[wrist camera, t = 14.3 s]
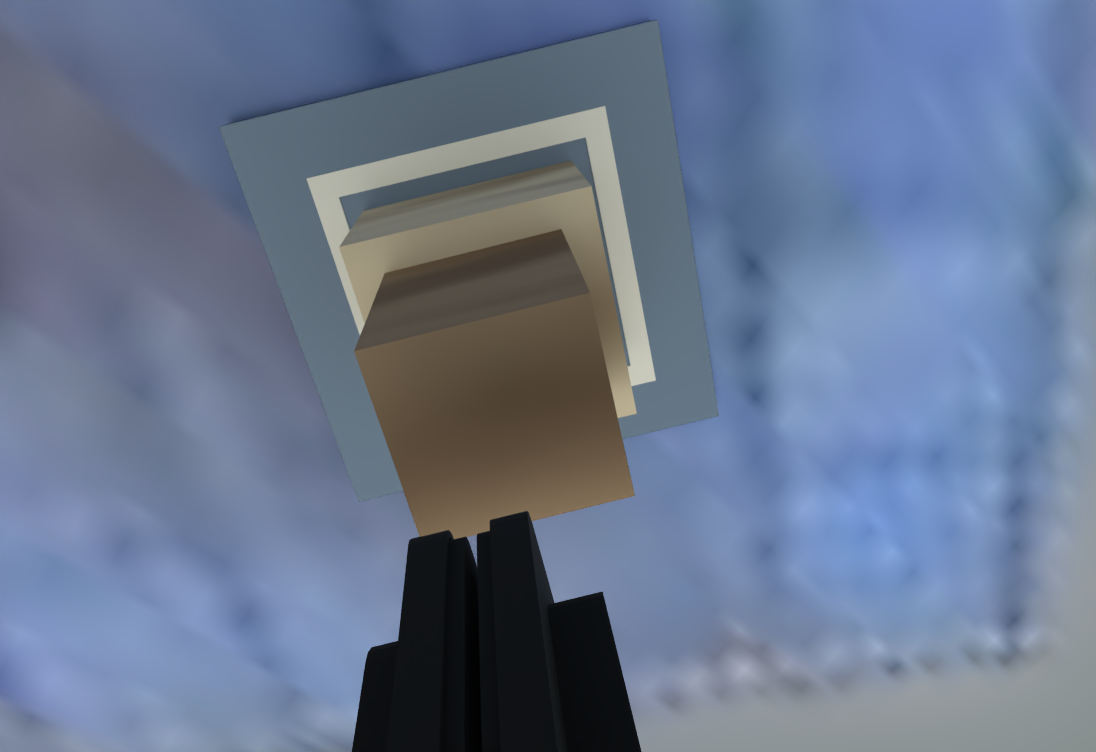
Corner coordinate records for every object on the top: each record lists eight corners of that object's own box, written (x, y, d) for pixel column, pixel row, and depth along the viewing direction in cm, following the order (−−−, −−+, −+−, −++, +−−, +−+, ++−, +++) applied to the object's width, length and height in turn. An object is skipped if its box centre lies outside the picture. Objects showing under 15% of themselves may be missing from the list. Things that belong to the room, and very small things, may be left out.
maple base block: (362, 210, 26) (338, 247, 22) (571, 160, 26) (591, 185, 22) (422, 399, 29) (412, 467, 24) (611, 354, 29) (636, 413, 24)
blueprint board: (229, 123, 26) (217, 127, 25) (650, 20, 26) (658, 19, 25) (363, 485, 31) (358, 503, 30) (710, 402, 31) (719, 417, 30)
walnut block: (384, 273, 22) (353, 351, 16) (561, 229, 22) (590, 292, 16) (435, 430, 24) (423, 547, 18) (597, 390, 24) (634, 495, 18)
